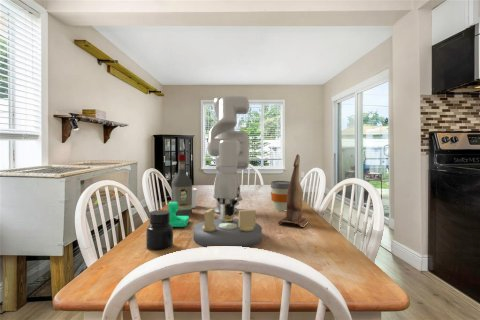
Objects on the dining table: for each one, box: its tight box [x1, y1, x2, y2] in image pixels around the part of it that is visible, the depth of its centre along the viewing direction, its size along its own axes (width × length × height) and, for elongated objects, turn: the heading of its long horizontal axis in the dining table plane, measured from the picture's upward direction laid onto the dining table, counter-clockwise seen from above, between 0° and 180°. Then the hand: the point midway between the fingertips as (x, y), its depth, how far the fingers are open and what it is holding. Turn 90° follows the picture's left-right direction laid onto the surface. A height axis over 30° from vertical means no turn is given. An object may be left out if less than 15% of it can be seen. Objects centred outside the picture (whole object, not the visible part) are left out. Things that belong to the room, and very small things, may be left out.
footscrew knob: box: [219, 203, 235, 223], centre depth 122 cm, size 6×5×7 cm
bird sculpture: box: [277, 154, 309, 227], centre depth 133 cm, size 11×12×32 cm
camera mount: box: [167, 201, 190, 228], centre depth 130 cm, size 12×8×10 cm, turn 0°
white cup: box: [192, 187, 198, 209], centre depth 166 cm, size 8×8×10 cm
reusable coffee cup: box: [270, 180, 290, 212], centre depth 163 cm, size 13×12×15 cm
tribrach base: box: [193, 208, 263, 248], centre depth 114 cm, size 26×26×12 cm
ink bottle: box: [145, 209, 174, 251], centre depth 104 cm, size 10×9×12 cm
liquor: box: [171, 153, 193, 216], centre depth 149 cm, size 9×9×30 cm
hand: (227, 214), depth 122 cm, fingers closed on footscrew knob, 2 cm apart
